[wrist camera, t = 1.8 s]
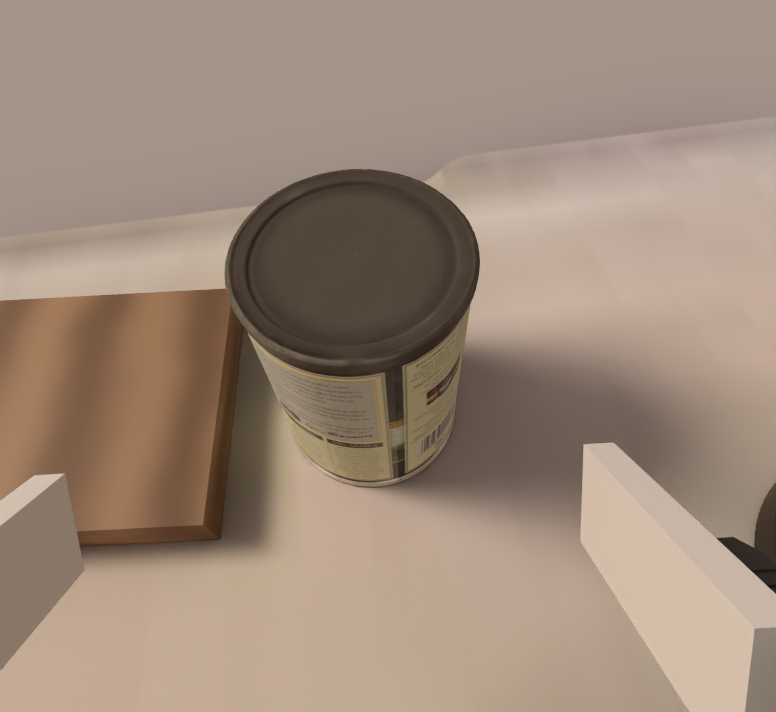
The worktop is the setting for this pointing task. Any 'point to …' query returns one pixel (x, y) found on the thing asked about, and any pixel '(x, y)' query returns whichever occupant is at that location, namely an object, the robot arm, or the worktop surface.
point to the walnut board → (123, 408)
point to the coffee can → (358, 316)
